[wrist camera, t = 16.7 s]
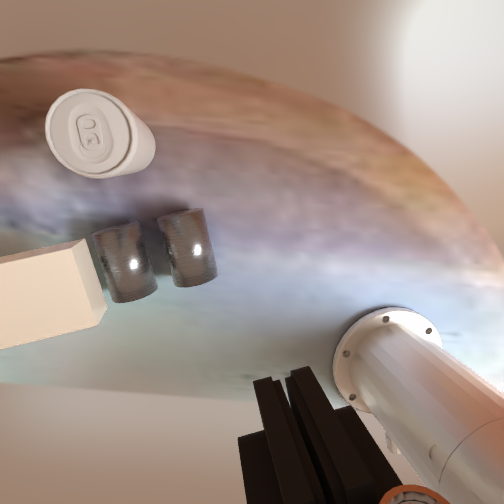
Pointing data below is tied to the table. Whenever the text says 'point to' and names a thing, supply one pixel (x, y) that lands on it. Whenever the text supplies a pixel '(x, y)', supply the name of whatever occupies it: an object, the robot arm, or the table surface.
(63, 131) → the beverage can
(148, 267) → the cylinder
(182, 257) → the cylinder
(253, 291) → the table surface
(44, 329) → the slab
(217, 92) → the table surface
